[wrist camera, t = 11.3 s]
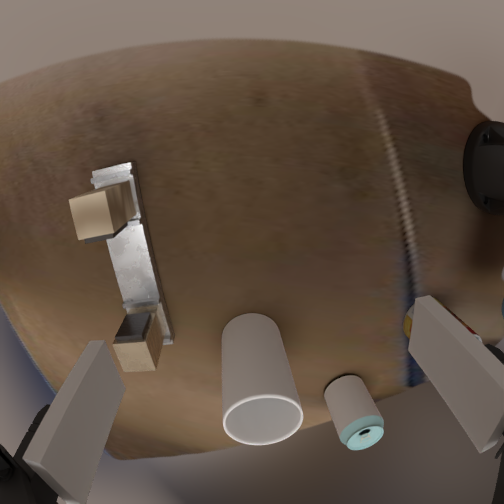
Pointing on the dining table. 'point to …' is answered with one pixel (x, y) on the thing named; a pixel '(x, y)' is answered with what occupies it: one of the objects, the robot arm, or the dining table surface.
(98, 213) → the block
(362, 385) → the can
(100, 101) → the dining table surface
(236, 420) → the cup
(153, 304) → the rail
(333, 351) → the dining table surface
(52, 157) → the dining table surface
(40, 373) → the dining table surface
